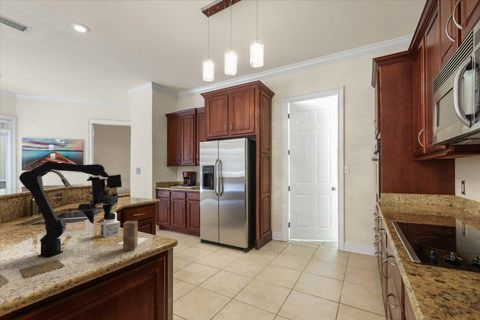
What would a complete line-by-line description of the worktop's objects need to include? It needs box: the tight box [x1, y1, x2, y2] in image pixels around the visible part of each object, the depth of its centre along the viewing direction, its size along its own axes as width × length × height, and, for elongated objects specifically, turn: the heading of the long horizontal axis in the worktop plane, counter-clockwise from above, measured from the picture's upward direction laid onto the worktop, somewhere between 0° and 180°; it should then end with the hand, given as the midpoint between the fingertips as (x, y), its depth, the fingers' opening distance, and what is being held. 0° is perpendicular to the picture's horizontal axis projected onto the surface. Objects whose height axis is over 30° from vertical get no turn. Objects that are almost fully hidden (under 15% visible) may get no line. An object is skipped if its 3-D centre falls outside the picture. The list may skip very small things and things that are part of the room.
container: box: [99, 211, 121, 238], centre depth 129 cm, size 8×8×13 cm
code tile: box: [117, 237, 149, 246], centre depth 117 cm, size 11×11×1 cm
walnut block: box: [122, 220, 139, 252], centre depth 106 cm, size 5×5×13 cm
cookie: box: [19, 259, 66, 280], centre depth 87 cm, size 12×12×1 cm
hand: (100, 220), depth 110 cm, fingers open, 9 cm apart
